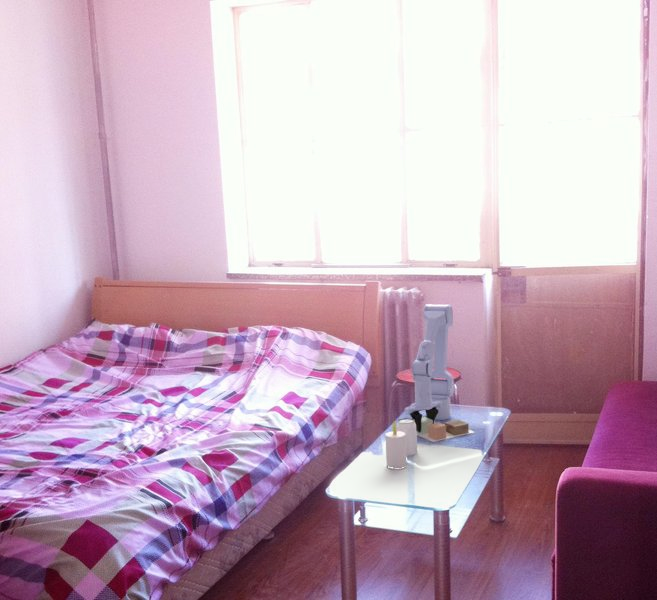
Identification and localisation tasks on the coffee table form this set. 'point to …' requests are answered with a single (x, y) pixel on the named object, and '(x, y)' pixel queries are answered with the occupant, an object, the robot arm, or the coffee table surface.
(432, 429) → the terracotta block
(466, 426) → the walnut block
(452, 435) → the cream board
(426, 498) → the coffee table surface
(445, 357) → the robot arm
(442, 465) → the coffee table surface
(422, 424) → the sage block
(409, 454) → the can
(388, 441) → the candle
